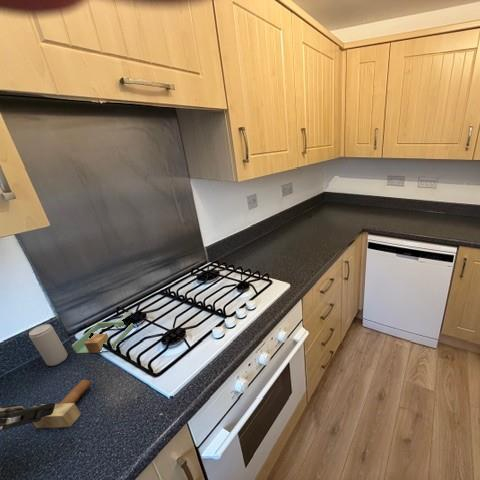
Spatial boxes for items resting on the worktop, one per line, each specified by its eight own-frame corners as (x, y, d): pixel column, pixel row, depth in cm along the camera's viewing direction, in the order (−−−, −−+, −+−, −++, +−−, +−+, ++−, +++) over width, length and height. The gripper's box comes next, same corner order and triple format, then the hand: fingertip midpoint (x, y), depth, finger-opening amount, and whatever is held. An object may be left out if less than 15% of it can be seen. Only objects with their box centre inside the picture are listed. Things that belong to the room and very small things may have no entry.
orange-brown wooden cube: (83, 343, 79) (94, 333, 82) (89, 353, 80) (99, 343, 84) (96, 342, 79) (106, 333, 82) (101, 352, 80) (111, 342, 84)
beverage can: (60, 353, 81) (42, 323, 76) (73, 354, 80) (55, 324, 76) (43, 366, 77) (22, 335, 72) (56, 367, 76) (37, 336, 71)
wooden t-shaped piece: (28, 417, 58) (67, 378, 68) (36, 428, 60) (74, 388, 69) (62, 415, 58) (97, 376, 67) (70, 427, 60) (103, 387, 69)
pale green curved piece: (116, 351, 81) (112, 343, 79) (75, 353, 81) (71, 345, 80) (150, 314, 97) (147, 307, 95) (116, 316, 97) (113, 309, 96)
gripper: (-21, 403, 42) (71, 388, 57) (-106, 407, 42) (8, 391, 58) (-43, 460, 39) (59, 428, 54) (-134, 464, 40) (-7, 431, 55)
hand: (33, 409), depth 56 cm, fingers open, 8 cm apart
